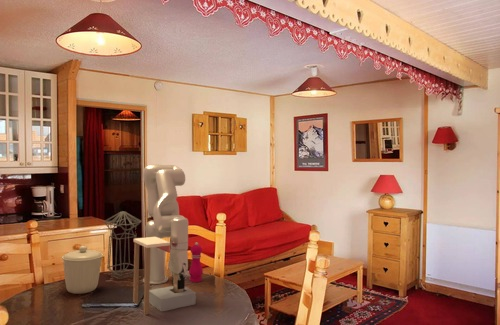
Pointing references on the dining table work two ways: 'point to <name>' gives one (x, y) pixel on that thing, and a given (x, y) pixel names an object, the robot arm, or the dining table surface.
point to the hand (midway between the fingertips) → (178, 286)
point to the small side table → (146, 265)
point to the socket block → (171, 298)
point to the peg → (176, 283)
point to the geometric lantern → (120, 240)
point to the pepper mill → (196, 264)
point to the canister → (82, 270)
